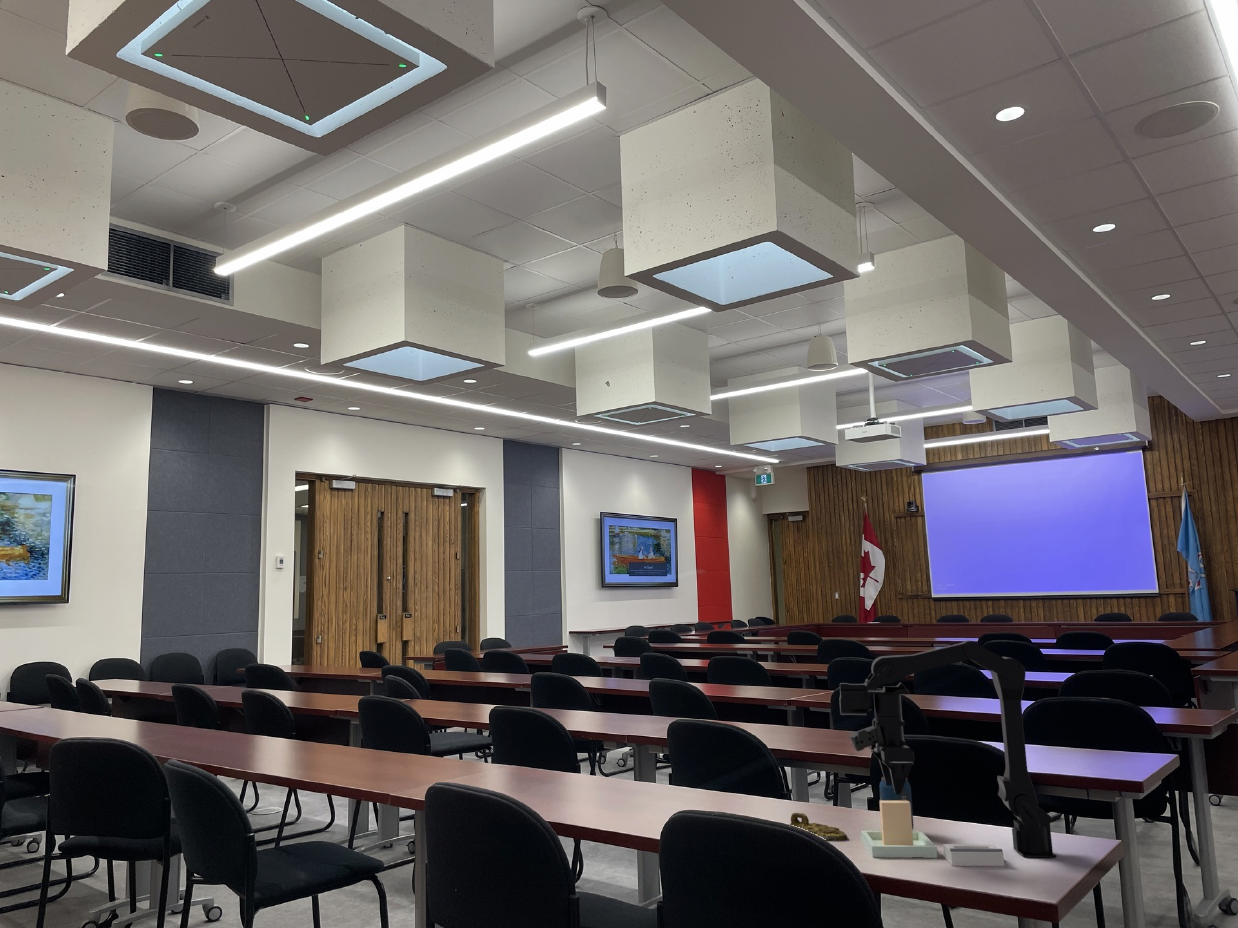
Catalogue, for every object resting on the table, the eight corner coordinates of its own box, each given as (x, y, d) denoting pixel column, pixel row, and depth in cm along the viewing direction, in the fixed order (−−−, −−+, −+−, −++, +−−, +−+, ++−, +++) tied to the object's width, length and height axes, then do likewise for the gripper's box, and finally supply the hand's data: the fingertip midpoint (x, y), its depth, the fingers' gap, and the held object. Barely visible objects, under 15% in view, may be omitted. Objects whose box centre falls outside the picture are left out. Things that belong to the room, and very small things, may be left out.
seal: (857, 841, 195) (799, 830, 205) (857, 819, 197) (799, 809, 206) (837, 845, 189) (778, 834, 199) (837, 822, 190) (778, 812, 200)
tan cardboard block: (910, 844, 185) (907, 800, 187) (913, 847, 183) (910, 802, 184) (882, 844, 186) (879, 800, 187) (884, 847, 183) (881, 802, 185)
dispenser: (994, 857, 177) (992, 841, 177) (1004, 865, 171) (1003, 849, 171) (944, 856, 178) (942, 841, 178) (952, 865, 172) (951, 849, 172)
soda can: (890, 827, 202) (886, 773, 204) (918, 831, 198) (914, 776, 200) (877, 833, 197) (873, 778, 199) (906, 837, 193) (902, 781, 195)
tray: (921, 840, 190) (921, 830, 190) (937, 857, 177) (936, 846, 177) (861, 840, 191) (860, 830, 191) (872, 856, 178) (871, 846, 179)
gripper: (844, 710, 199) (848, 781, 196) (858, 720, 180) (862, 798, 178) (893, 710, 198) (898, 781, 195) (912, 720, 179) (918, 799, 177)
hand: (893, 789), depth 186 cm, fingers open, 9 cm apart
